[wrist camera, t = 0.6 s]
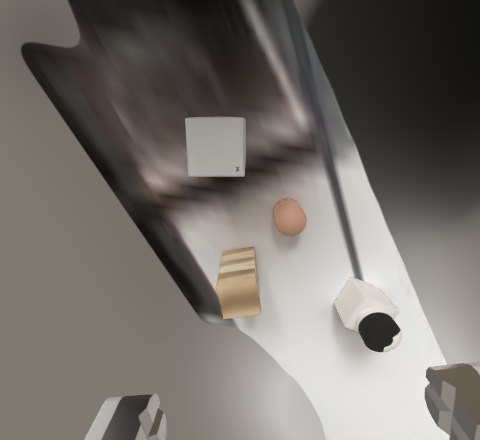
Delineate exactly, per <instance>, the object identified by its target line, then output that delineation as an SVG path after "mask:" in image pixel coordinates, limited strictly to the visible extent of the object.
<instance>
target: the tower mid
mask: <svg viewBox="0 0 480 440" xmlns="http://www.w3.org/2000/svg"><path fill="white" fill-rule="evenodd" d="M254 268H255V273H256V279H257V284H258V290H259V283H258V277H257V271H256V265H255V259H254V257H249V258H241V259H234V260H227V261H221V264H220V269H219V273H224V272H232V271H239V270H247V269H254ZM259 296H260V293H259Z"/></svg>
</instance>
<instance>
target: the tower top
mask: <svg viewBox="0 0 480 440" xmlns="http://www.w3.org/2000/svg"><path fill="white" fill-rule="evenodd" d="M216 289H217V293H218V297H219V301H220V306H221V310H222V314H223V319H229V318H237V317H245V316H253V315H261V306H260V296H259V290H258V284H257V279H256V273H255V268H254V269H247V270H239V271H232V272H224V273H219V275H218V280H217V285H216Z"/></svg>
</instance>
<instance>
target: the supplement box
mask: <svg viewBox="0 0 480 440" xmlns="http://www.w3.org/2000/svg"><path fill="white" fill-rule="evenodd" d="M185 126H186V144H187V166H188V176H190V177H244V176H245V164H246V119H245V118H243V117H191V118H185Z"/></svg>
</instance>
